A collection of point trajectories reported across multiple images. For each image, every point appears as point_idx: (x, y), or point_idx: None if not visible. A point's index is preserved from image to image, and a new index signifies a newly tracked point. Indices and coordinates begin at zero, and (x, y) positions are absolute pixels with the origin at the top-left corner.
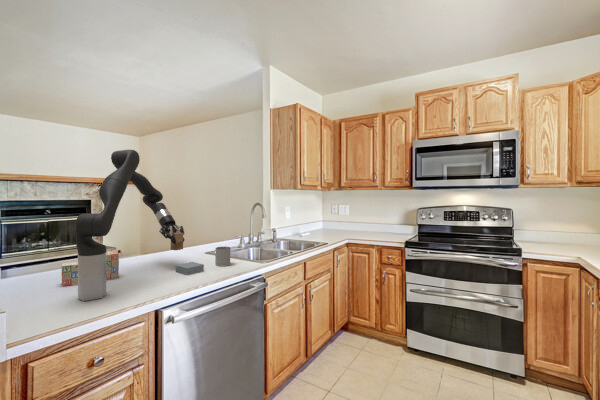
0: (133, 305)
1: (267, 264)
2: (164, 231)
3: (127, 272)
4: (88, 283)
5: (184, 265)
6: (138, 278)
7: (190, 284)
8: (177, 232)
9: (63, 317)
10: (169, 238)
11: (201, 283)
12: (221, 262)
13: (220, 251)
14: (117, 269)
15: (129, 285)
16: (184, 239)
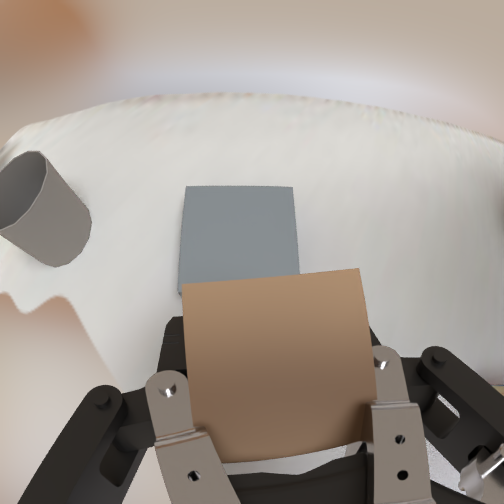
0: (463, 129)
1: (24, 128)
2: (502, 401)
3: (428, 456)
4: None
5: (267, 247)
6: (441, 326)
7: (334, 120)
8: (223, 442)
9: None
10: None
11: (303, 104)
12: (80, 200)
13: (53, 172)
14: (500, 386)
15: (473, 261)
16: (170, 320)
